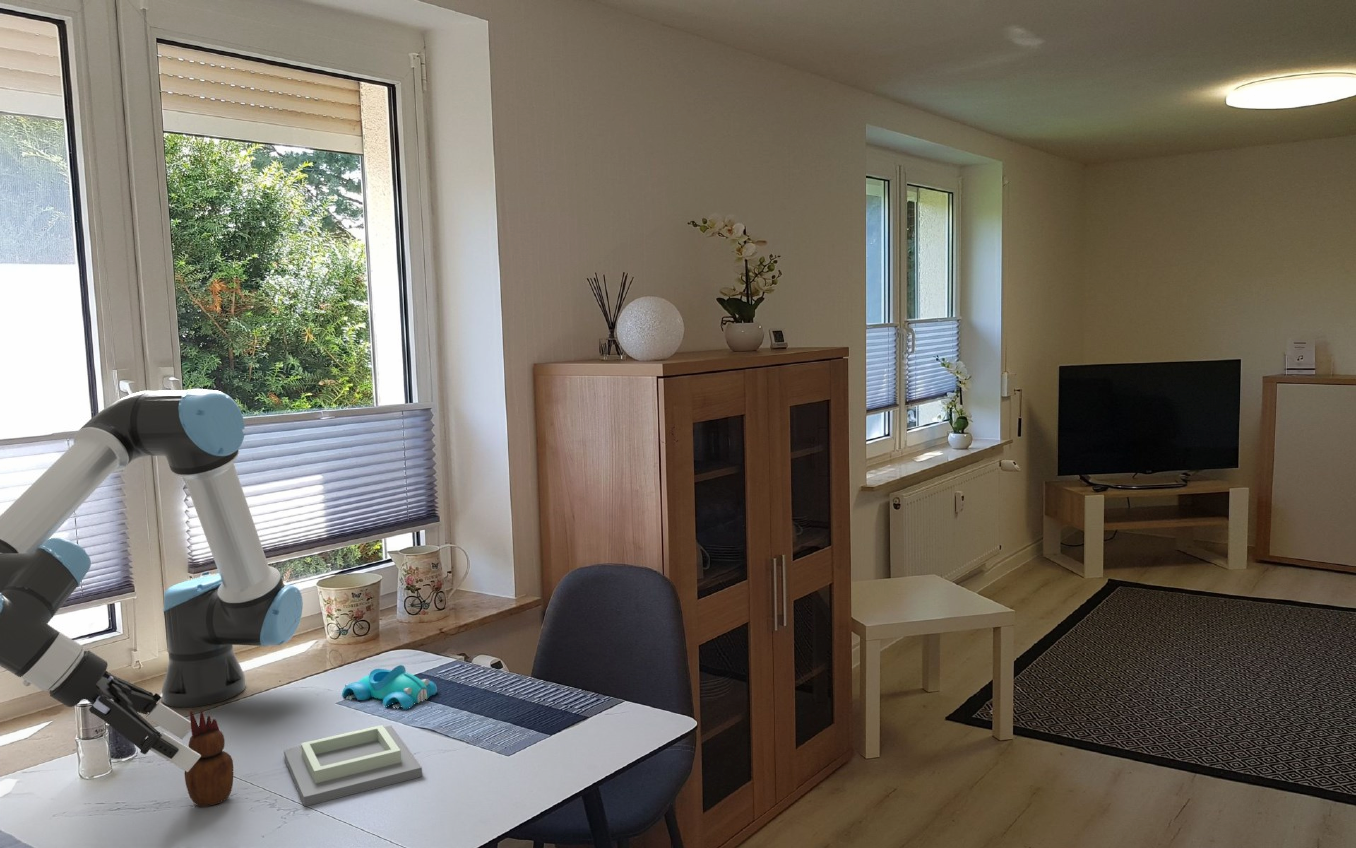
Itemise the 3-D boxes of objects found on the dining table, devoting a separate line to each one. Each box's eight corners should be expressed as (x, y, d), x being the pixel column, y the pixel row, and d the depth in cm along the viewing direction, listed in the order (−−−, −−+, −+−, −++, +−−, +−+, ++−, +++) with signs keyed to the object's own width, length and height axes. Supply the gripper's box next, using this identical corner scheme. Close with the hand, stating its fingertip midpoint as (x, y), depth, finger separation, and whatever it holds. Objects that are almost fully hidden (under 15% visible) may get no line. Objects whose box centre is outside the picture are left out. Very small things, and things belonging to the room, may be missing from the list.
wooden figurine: (186, 814, 152) (178, 718, 150) (188, 798, 157) (179, 705, 156) (235, 804, 155) (227, 710, 153) (235, 788, 160) (227, 697, 158)
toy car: (404, 713, 189) (402, 679, 188) (334, 700, 197) (332, 667, 197) (443, 693, 199) (441, 661, 198) (374, 681, 207) (372, 649, 206)
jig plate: (284, 758, 170) (282, 738, 170) (391, 733, 179) (390, 714, 179) (304, 806, 153) (302, 784, 153) (422, 776, 162) (421, 755, 161)
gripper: (51, 667, 154) (169, 739, 163) (40, 721, 133) (177, 801, 141) (87, 627, 156) (202, 700, 165) (83, 674, 135) (215, 755, 143)
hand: (191, 747), depth 153 cm, fingers open, 13 cm apart
